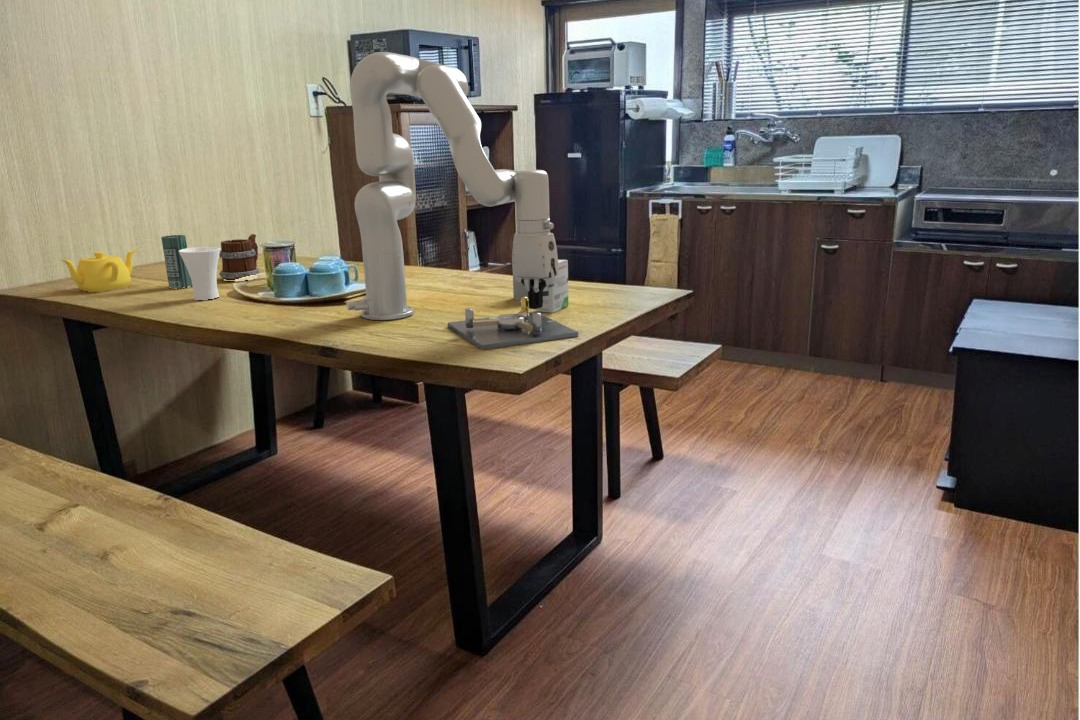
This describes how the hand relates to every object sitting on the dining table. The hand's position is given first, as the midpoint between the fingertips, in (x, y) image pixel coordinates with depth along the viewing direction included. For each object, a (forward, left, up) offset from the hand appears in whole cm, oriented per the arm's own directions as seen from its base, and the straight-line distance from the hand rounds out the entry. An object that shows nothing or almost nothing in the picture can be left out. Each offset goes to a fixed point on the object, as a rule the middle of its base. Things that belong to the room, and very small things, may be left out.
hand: (535, 307), depth 179 cm
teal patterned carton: (-73, +93, -4) cm, 118 cm away
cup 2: (+10, +26, -4) cm, 28 cm away
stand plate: (-8, -4, -4) cm, 10 cm away
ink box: (+10, +12, -4) cm, 16 cm away
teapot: (-93, +102, -4) cm, 138 cm away
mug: (-55, +99, -4) cm, 113 cm away
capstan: (-6, -3, -2) cm, 7 cm away
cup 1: (-67, +71, -4) cm, 98 cm away
